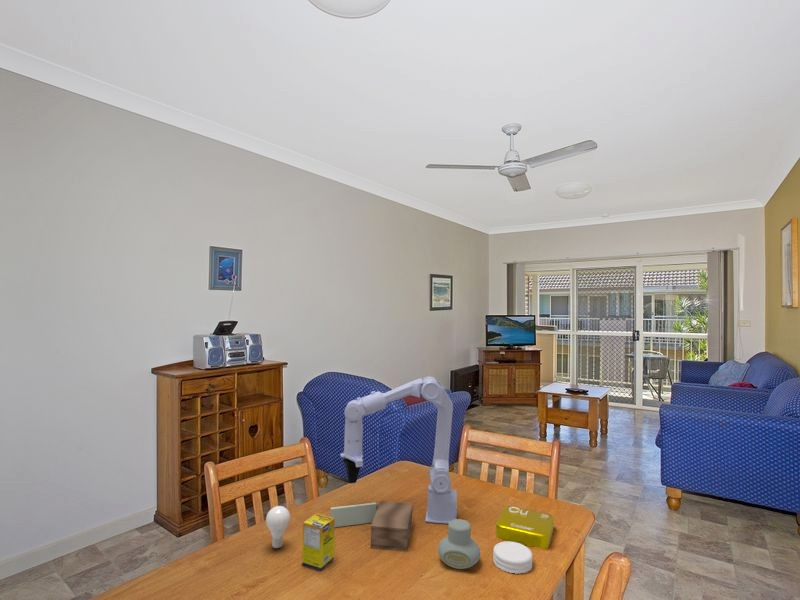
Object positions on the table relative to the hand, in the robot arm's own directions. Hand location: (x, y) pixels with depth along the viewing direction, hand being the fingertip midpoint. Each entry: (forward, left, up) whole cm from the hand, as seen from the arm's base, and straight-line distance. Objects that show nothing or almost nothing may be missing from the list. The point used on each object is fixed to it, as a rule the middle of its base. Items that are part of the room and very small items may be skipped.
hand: (352, 482), depth 141 cm
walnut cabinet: (-14, +10, -10) cm, 20 cm away
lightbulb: (+16, +22, -11) cm, 29 cm away
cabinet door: (-2, +5, -10) cm, 12 cm away
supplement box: (+3, +27, -11) cm, 29 cm away
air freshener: (-33, +21, -11) cm, 41 cm away
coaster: (-47, +19, -11) cm, 52 cm away
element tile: (-53, +2, -11) cm, 54 cm away
